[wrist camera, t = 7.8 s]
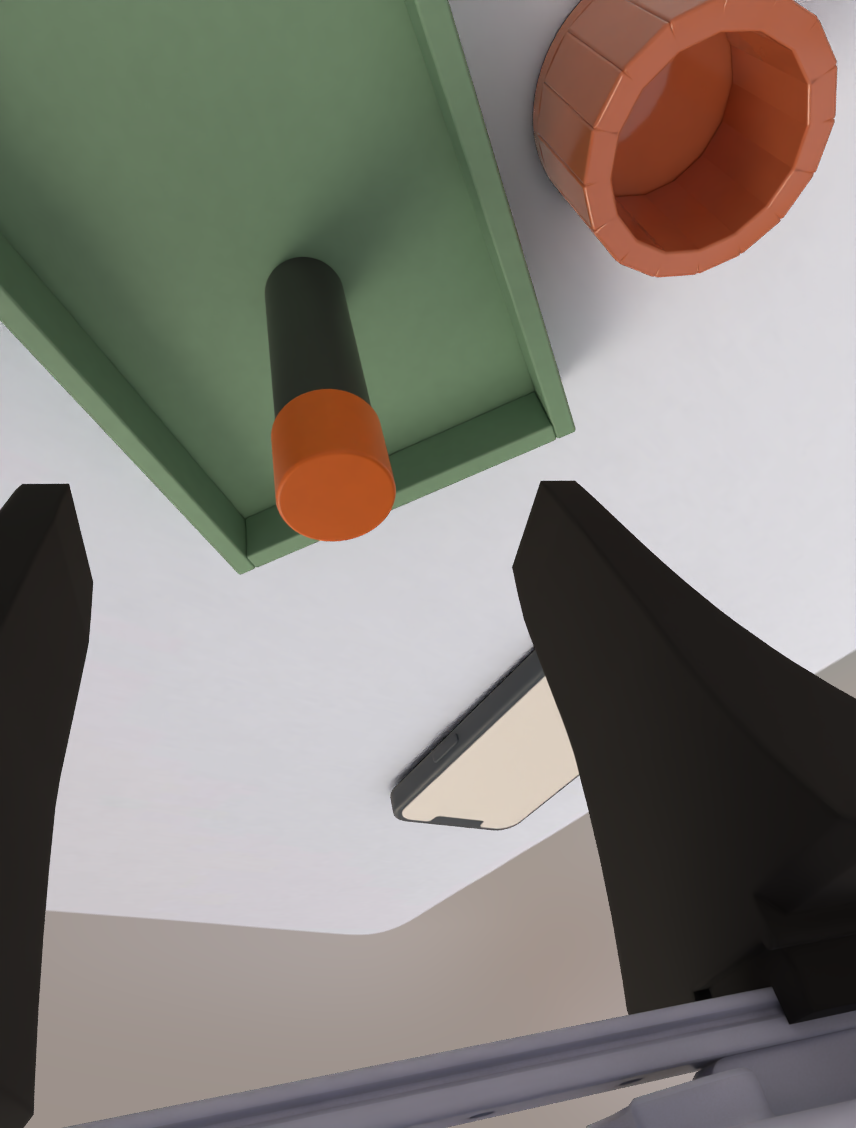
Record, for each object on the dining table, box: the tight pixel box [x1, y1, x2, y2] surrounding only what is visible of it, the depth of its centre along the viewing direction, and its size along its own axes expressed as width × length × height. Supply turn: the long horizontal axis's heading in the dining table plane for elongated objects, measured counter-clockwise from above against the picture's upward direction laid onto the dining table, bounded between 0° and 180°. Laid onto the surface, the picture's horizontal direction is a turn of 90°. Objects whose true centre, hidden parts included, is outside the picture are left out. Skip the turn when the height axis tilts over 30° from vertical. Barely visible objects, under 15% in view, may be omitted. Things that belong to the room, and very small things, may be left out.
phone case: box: [390, 650, 579, 830], centre depth 38 cm, size 9×2×16 cm
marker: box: [265, 257, 396, 541], centre depth 16 cm, size 2×2×8 cm
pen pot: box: [533, 0, 837, 277], centre depth 16 cm, size 5×5×4 cm
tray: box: [0, 0, 575, 574], centre depth 16 cm, size 11×20×2 cm, turn 22°
